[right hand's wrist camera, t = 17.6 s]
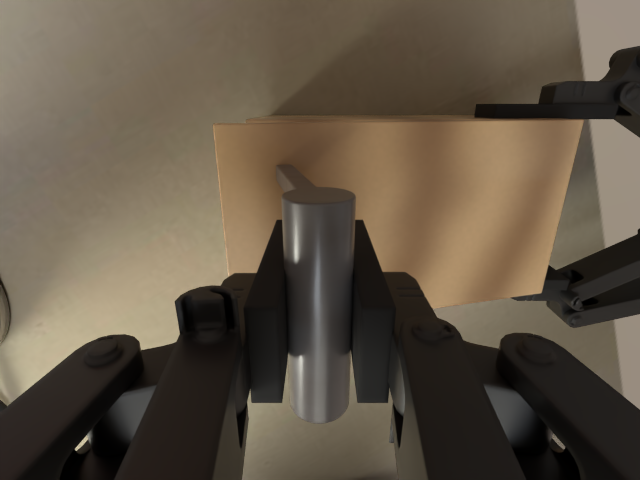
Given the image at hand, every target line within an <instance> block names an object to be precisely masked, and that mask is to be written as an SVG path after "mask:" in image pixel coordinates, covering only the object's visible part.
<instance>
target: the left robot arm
mask: <svg viewBox="0 0 640 480" xmlns="http://www.w3.org/2000/svg"><path fill="white" fill-rule="evenodd" d="M609 67H610V70H609V71H608V73H607V75H606V76H605V77H604V78H603V79H602V80H600V81H565V82H555V83H550V84H547V85H545V86H542V89H541V94H540V99H539V104H476V109H475V116H474V117H480V118H562V119H614V120H616V121H617V122H618V123H620V124H621V125H623V126H624V127H626V128H627V129H628V130H630V131H631V132H633V133H634V134H635V135H637V136H638V137H640V46H637V47H632V48H627V49H621V50H618V51H617V52H615V53H614V54H613V55H612V57H611V58H610V61H609ZM511 298H512V299H514V300H517V301H525V300H526V301H531V300H532V301H547V303H546V304H547V306H548V307H549V308H550V309H551V310H552V311H553V312H554V313H555V314H556V315H557V316H559V317H560V318H561V319H562V320H563V321H564V322H566V323H567V324H568V325H569V326H570V327H573V328H576V327H581V326H586V325H591V324H595V323H600V322H605V321H609V320H614V319H619V318H623V317H628V316H633V315H637V314H640V229H638V234H637V235H635V236H633V237H630V238H628V239H626V240H624V241H621V242H619V243H617V244H615V245H612V246H610V247H608V248H606V249H603V250H601V251H599V252H597V253H594V254H592V255H590V256H588V257H585V258H583V259H581V260H578V261H576V262H574V263H572V264H569V265H567V266H565V267H563V268H560V269H558V270H555V269H554V268H552V267H551V266H549V265H548V269H547V273H546V277H545V281H544V285H543V289H542V293H539V294H532V295H525V296H518V297H511Z"/></svg>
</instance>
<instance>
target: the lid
mask: <svg viewBox="0 0 640 480" xmlns="http://www.w3.org/2000/svg"><path fill="white" fill-rule="evenodd" d="M583 123H584V120H583V119H524V120H440V121H356V122H273V123H214V124H213V131H214V141H215V151H216V161H217V170H218V180H219V190H220V199H221V209H222V219H223V229H224V238H225V248H226V258H227V267H228V277H229V276H231V275H232V274H234V273H257V270H258V268H259V265H260V263H261V260H262V257H263V255H264V252H265V249H266V247H267V244H268V241H269V239H270V236H271V233H272V231H273V228H274V225H275V223H276V220H282V227H283V251H284V269H285V280H286V306H287V332H288V372H289V397H290V405H291V408H292V410H293V411H294V413H295V414H296V415H297V416H298V417H300V418H301V419H303V420H305V421H307V422H311V423H328V422H331V421H334V420H336V419H337V418H339V417H340V416H341V415H342V414H343V413H344V412H345V411H346V409H347V407H348V404H349V386H350V357H351V328H352V299H353V270H354V241H355V220H363V221H364V224H365V226H366V229H367V232H368V234H369V237H370V240H371V242H372V245H373V248H374V250H375V253H376V256H377V258H378V261H379V264H380V266H381V269H382V272H406V273H408V274H409V275H411V276H412V277H414V278H415V279H416V280H417V282H418V284H419V286H420V287H421V290H422V291H423V293H424V295H425V297H426V298H427V300H428V302H429V304H430V306H431V307H432V309H433V308H440V307H447V306H454V305H461V304H468V303H475V302H482V301H489V300H496V299H504V298H511V297H518V296H525V295H532V294H539V293H542V289H543V285H544V281H545V277H546V273H547V269H548V265H549V261H550V257H551V253H552V249H553V244H554V240H555V236H556V232H557V228H558V224H559V220H560V216H561V212H562V208H563V204H564V200H565V196H566V192H567V188H568V184H569V179H570V175H571V171H572V167H573V163H574V159H575V155H576V151H577V147H578V143H579V139H580V135H581V131H582V127H583Z"/></svg>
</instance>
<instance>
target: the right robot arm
mask: <svg viewBox="0 0 640 480" xmlns="http://www.w3.org/2000/svg"><path fill="white" fill-rule="evenodd" d="M175 306H176V312H177V318H178V324H179V330H180V335H179V337H178V340H177V342H175V343H173V344H169V345H165V346H161V347H156V348H151V349H146V350H141V348H140V343H139V341H138V340H137V339H136V338H135V337H133V336H129V335H125V334H123V335H109V336H104V337H100V338H98V339H96V340H94V341H91V342H89V343H86V344H85V345H83V346H82V347H80V348H79V349H77V350H76V351H74V352H73V353H72V354H71V355H69V356H68V357H67V358H66V359H65V360H63V361H62V362H61V363H60V364H58V365H57V366H56V367H55V368H54V369H52V370H51V371H50V372H49V373H47V374H46V375H45V376H44V377H43V378H41V379H40V380H39V381H38V382H36V383H35V384H34V385H33V386H32V387H30V388H29V389H28V390H27V391H25V392H24V393H23V394H22V395H21V396H19V397H18V398H17V399H16V400H14V401H13V402H12V403H11V404H10V405H8V406H6V405H5V404H4V403H3V402H2V401H1V400H0V480H242V474H243V465H244V456H245V447H246V438H247V429H248V420H249V418H248V407H247V400H248V395H249V391H250V389H251V401H252V403H282V399H283V391H284V383H285V375H286V367H287V359H288V332H287V306H286V280H285V269H284V251H283V227H282V220H276V223H275V225H274V228H273V231H272V233H271V236H270V239H269V241H268V244H267V247H266V249H265V252H264V255H263V257H262V260H261V263H260V265H259V268H258V270H257V273H234V274H232V275H231V276H229V277H228V278H227V279H225V280H224V281H223V283H222V285H221V286H205V287H199V288H196V289H193V290H189V291H188V292H186V293H184V294H182V295H180V296H179V297H178V299H177V300H176V301H175ZM9 322H10V313H9V306H8V301H7V298H6V295H5V292H4V290H3V288H2V286H1V284H0V344H1V343H2V342H3V340H4V338H5V336H6V334H7V331H8V328H9ZM351 354H352V362H353V370H354V378H355V386H356V394H357V402H358V403H388V396H389V387H390V391H391V395H392V399H393V407H392V418H391V429H390V439H389V443H394V446H395V455H396V464H397V473H398V480H640V410H639V409H638V408H637V407H636V406H634V405H633V404H632V403H631V402H629V401H628V400H627V399H626V398H625V397H623V396H622V395H621V394H620V393H618V392H617V391H616V390H615V389H613V388H612V387H611V386H610V385H609V384H607V383H606V382H605V381H604V380H602V379H601V378H600V377H599V376H597V375H596V374H595V373H594V372H593V371H591V370H590V369H589V368H588V367H586V366H585V365H584V364H583V363H581V362H580V361H579V360H578V359H576V358H575V357H574V356H573V355H572V354H570V353H569V352H568V351H567V350H565V349H564V348H562V347H561V346H559V345H558V344H556V343H555V342H553V341H551V340H548V339H546V338H543V337H542V336H539V335H535V334H534V335H533V334H529V333H512V334H508V335H505V336H504V337H503V338H502V339H501V341H500V346H499V349H497V348H492V347H487V346H482V345H477V344H473V343H469V342H466V341H463V339H462V337H461V335H460V333H459V332H458V330H457V329H456V328H455V327H454V326H453V325H451V324H450V323H448V322H447V321H444V320H442V319H439V318H437V316H436V315H435V313H434V311H433V309H432V307H431V306H430V304H429V302H428V300H427V298H426V297H425V295H424V293H423V291H422V290H421V287H420V286H419V284H418V282H417V280H416V279H415V278H414V277H412V276H411V275H409V274H408V273H406V272H382V269H381V266H380V264H379V261H378V258H377V256H376V253H375V250H374V248H373V245H372V242H371V240H370V237H369V234H368V232H367V229H366V226H365V224H364V221H363V220H355V241H354V270H353V299H352V328H351ZM553 433H554V434H555V435H556V437H557V438H558V439H559V440H560V441H561V442H562V443H563V444H564V446H565V449H564V450H563V449H562V448H561V447H560V446H559V445H558V444H557V443H556V442H555V441H554V440H553V439H552V435H553ZM86 435H87V437H88V440H87V441H86V443H85V444H84V445H83V446H82V447H81V448H80V449H78V450H77V451H75V448H76V447H77V445H78V444H79V443H80V442H81V441H82V440H83V439H84V437H85V436H86Z"/></svg>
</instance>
